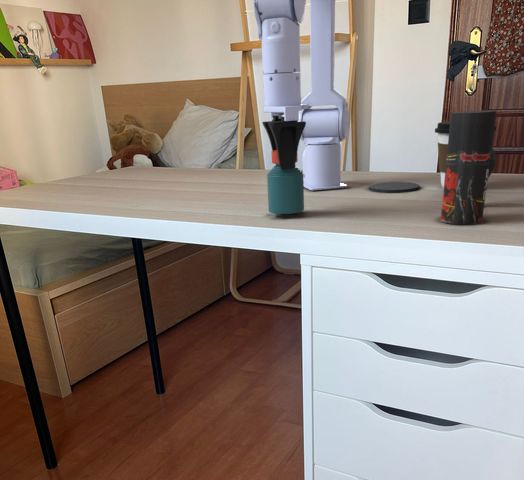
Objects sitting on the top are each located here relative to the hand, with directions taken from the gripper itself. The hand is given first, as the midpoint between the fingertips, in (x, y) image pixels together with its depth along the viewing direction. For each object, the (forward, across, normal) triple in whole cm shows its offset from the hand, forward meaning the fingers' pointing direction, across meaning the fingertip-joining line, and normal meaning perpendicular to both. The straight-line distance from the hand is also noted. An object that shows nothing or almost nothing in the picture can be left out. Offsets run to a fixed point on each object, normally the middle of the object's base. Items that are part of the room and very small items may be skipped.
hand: (284, 167), depth 86 cm
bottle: (+7, 0, 0) cm, 7 cm away
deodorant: (+8, -14, -24) cm, 29 cm away
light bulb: (+8, -5, -31) cm, 32 cm away
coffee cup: (+8, +12, -37) cm, 40 cm away
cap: (-2, 0, 0) cm, 2 cm away
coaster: (+8, +17, -26) cm, 32 cm away
